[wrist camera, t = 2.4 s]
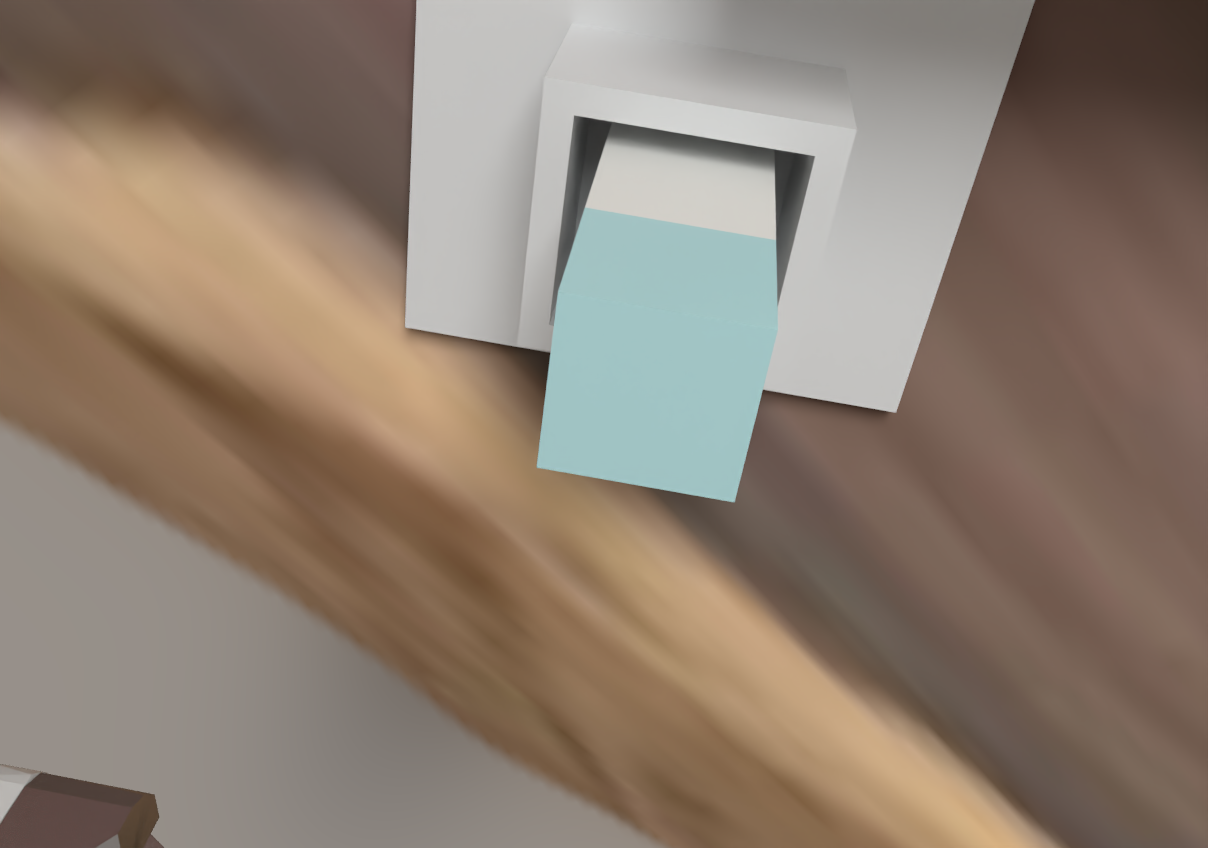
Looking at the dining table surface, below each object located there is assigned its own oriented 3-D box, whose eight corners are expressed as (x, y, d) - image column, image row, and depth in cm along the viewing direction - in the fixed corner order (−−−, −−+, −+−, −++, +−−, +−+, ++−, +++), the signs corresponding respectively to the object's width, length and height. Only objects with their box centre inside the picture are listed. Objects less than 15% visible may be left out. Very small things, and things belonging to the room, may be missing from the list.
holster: (410, 317, 28) (362, 406, 25) (427, -125, 22) (369, -85, 19) (894, 401, 28) (911, 502, 25) (1035, -24, 22) (1083, 34, 19)
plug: (602, 230, 26) (536, 467, 18) (621, 91, 24) (558, 291, 16) (743, 254, 26) (734, 501, 18) (773, 116, 24) (777, 329, 16)
